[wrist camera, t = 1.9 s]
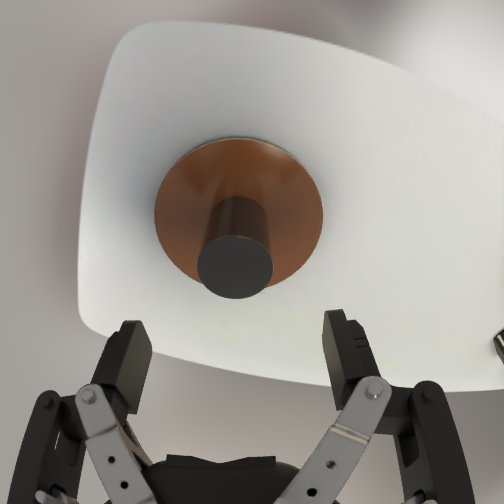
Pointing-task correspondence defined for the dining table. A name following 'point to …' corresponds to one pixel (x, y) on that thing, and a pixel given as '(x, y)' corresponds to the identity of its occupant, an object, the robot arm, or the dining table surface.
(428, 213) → the dining table surface
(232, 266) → the crock lid
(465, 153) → the dining table surface
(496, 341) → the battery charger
